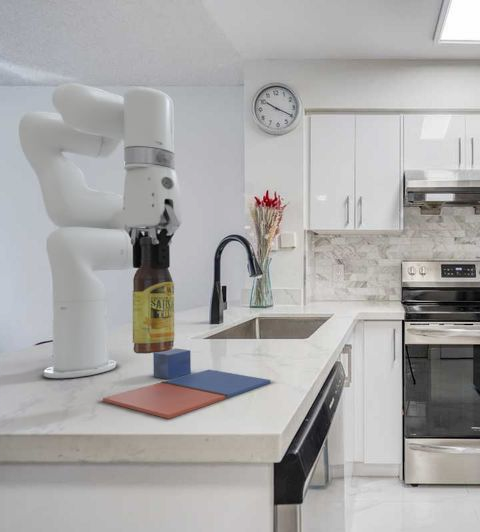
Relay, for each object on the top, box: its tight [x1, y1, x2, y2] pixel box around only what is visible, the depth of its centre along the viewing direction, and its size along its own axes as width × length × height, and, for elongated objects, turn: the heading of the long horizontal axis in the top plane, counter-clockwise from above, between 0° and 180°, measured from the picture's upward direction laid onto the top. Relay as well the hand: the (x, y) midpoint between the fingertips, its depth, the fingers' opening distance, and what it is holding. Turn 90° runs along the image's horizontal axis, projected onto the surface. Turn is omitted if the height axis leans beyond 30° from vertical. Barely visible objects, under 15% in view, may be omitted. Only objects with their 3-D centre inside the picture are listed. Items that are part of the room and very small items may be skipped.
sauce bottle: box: [132, 237, 175, 354], centre depth 73 cm, size 7×6×20 cm
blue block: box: [152, 347, 192, 380], centre depth 88 cm, size 5×5×5 cm
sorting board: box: [102, 369, 272, 420], centre depth 76 cm, size 18×21×1 cm
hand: (151, 266), depth 73 cm, fingers closed on sauce bottle, 4 cm apart
